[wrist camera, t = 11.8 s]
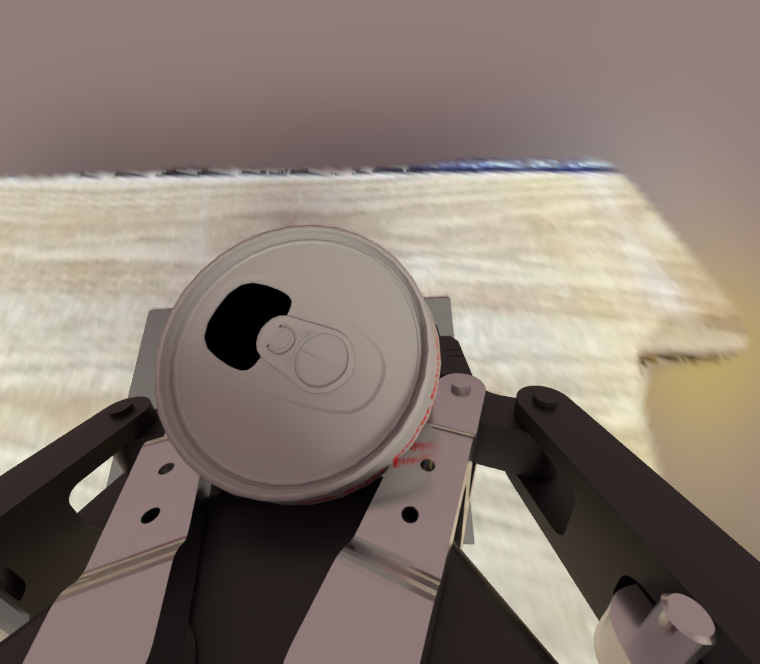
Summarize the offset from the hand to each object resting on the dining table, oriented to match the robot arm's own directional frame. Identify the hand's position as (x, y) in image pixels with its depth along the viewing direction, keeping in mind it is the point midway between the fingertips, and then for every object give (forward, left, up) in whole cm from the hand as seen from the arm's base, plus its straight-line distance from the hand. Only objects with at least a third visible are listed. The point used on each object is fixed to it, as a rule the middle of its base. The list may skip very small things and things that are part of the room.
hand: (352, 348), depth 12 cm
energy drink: (0, -2, -5) cm, 6 cm away
